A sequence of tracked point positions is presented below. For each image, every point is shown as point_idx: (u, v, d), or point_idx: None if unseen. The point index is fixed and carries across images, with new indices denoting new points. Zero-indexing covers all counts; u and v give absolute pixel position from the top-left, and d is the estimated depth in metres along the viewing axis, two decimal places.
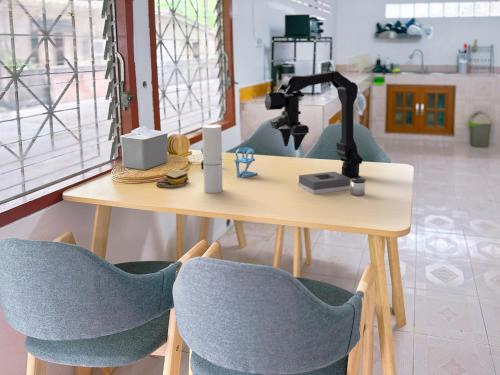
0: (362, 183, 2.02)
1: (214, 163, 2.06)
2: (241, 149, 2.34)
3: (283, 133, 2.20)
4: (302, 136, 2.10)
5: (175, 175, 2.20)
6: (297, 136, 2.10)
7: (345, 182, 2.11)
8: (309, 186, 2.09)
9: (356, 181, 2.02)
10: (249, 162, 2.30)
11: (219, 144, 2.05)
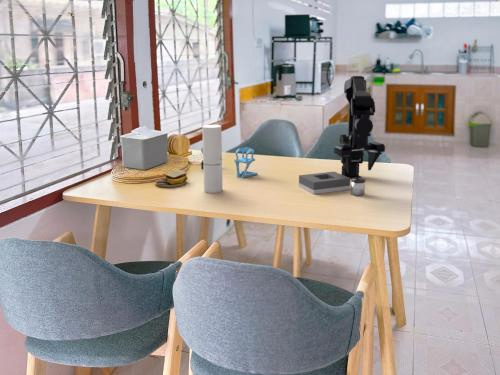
0: (362, 183, 2.02)
1: (214, 163, 2.06)
2: (241, 149, 2.34)
3: (369, 156, 2.05)
4: (346, 159, 1.98)
5: (174, 175, 2.20)
6: (345, 158, 2.00)
7: (345, 182, 2.11)
8: (309, 186, 2.09)
9: (356, 181, 2.02)
10: (249, 162, 2.30)
11: (219, 144, 2.05)
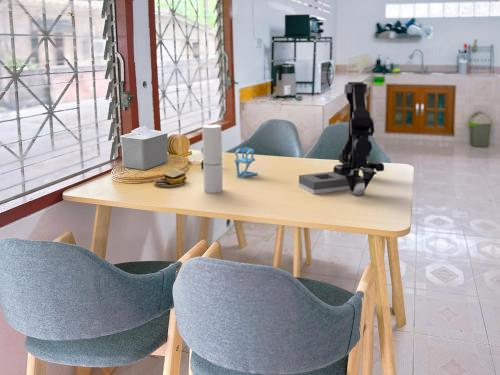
0: (362, 182, 2.02)
1: (214, 163, 2.06)
2: (241, 149, 2.34)
3: (363, 175, 2.06)
4: (350, 178, 2.00)
5: (173, 175, 2.21)
6: (349, 176, 2.02)
7: (345, 182, 2.11)
8: (309, 186, 2.09)
9: (356, 181, 2.02)
10: (249, 162, 2.30)
11: (219, 144, 2.05)
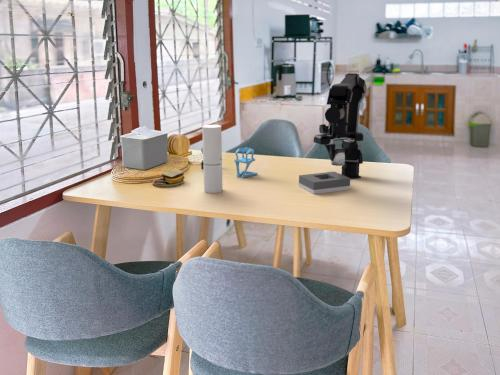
0: (342, 152, 2.05)
1: (214, 163, 2.06)
2: (241, 149, 2.34)
3: (343, 145, 2.09)
4: (330, 147, 2.03)
5: (172, 175, 2.21)
6: (329, 146, 2.05)
7: (345, 182, 2.11)
8: (309, 186, 2.09)
9: (336, 151, 2.05)
10: (249, 162, 2.30)
11: (219, 144, 2.05)
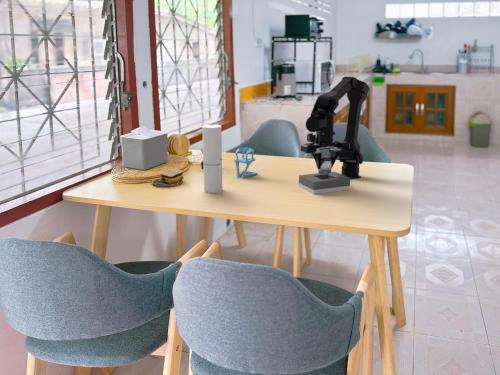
0: (328, 161, 2.10)
1: (214, 163, 2.06)
2: (241, 149, 2.34)
3: (330, 154, 2.13)
4: (317, 156, 2.08)
5: (171, 174, 2.22)
6: (316, 155, 2.10)
7: (345, 182, 2.11)
8: (309, 186, 2.09)
9: (322, 159, 2.09)
10: (249, 162, 2.30)
11: (219, 144, 2.05)
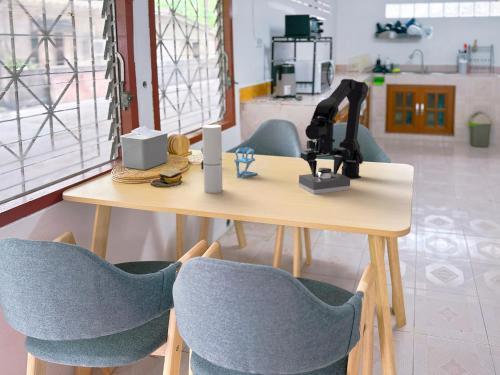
0: (328, 173, 2.11)
1: (214, 163, 2.06)
2: (241, 149, 2.34)
3: (334, 160, 2.15)
4: (312, 164, 2.08)
5: (170, 174, 2.22)
6: (311, 162, 2.10)
7: (345, 182, 2.11)
8: (309, 186, 2.09)
9: (322, 171, 2.11)
10: (249, 162, 2.30)
11: (219, 144, 2.05)
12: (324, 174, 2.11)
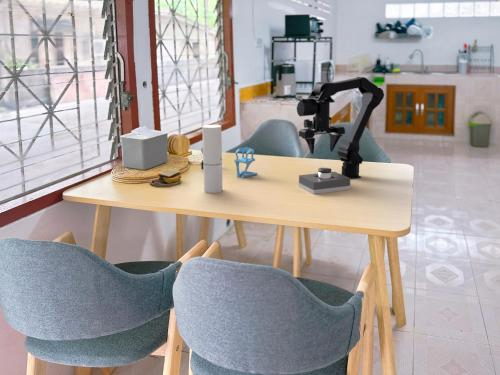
0: (328, 173, 2.11)
1: (214, 163, 2.06)
2: (241, 149, 2.34)
3: (330, 138, 2.24)
4: (310, 141, 2.16)
5: (169, 174, 2.22)
6: (309, 140, 2.18)
7: (345, 182, 2.11)
8: (309, 186, 2.09)
9: (322, 171, 2.11)
10: (249, 162, 2.30)
11: (219, 144, 2.05)
12: (324, 174, 2.11)
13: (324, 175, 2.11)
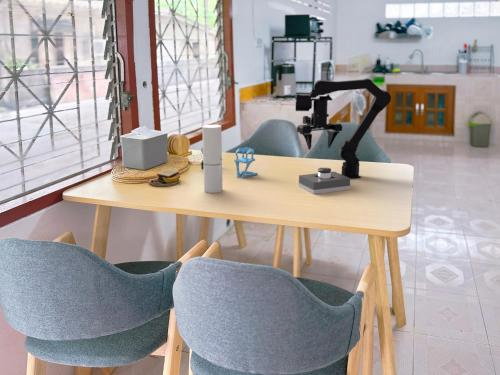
0: (328, 172, 2.11)
1: (214, 163, 2.06)
2: (241, 149, 2.34)
3: (328, 135, 2.30)
4: (307, 137, 2.24)
5: (168, 174, 2.23)
6: (307, 136, 2.26)
7: (345, 182, 2.11)
8: (309, 186, 2.09)
9: (322, 171, 2.10)
10: (249, 162, 2.30)
11: (219, 144, 2.05)
12: (324, 174, 2.11)
13: (324, 175, 2.11)
